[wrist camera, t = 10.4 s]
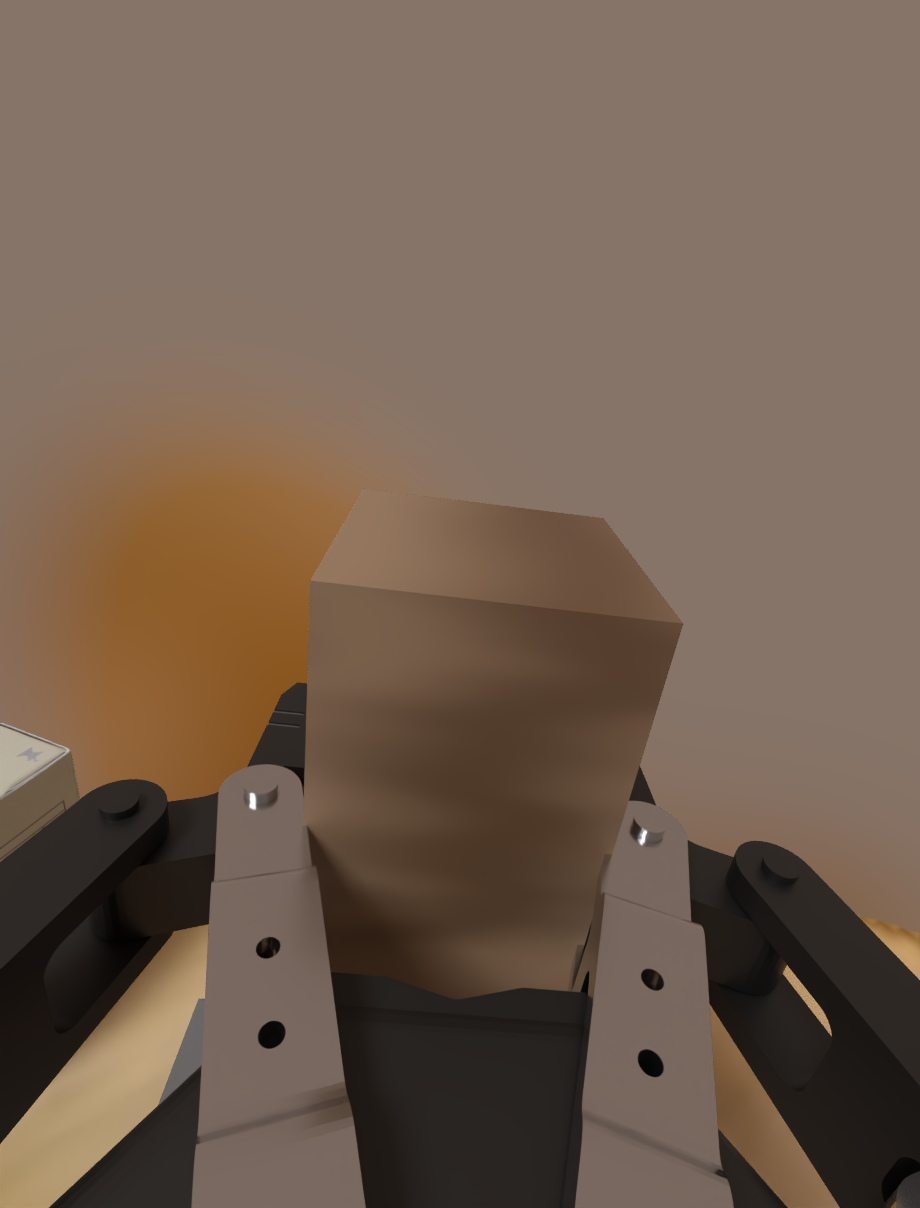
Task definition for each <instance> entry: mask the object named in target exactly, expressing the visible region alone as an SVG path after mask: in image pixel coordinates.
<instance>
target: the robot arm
mask: <svg viewBox="0 0 920 1208" xmlns="http://www.w3.org/2000/svg"><path fill="white" fill-rule="evenodd" d="M306 709H307V684H306V683H296V684H295V685H294V686H292V687H291V688H290V689H288V690H287V691H286V692H285V693H283V694H282V695H281V697H280V699H279V701H278V704H277V705H276V708H275V711H274V713H273V714H272V716H271V718H270V720H269V724H268V725H267V727H266V729H265V731H264V733H263V735H262V737H261V739H260V741H259V743H258V745H257V748H256V750H255V752H254V754H253V756H252V758H251V760H250V762H249V764H248V766H247V767H246V768H244V769H241V770H239V771H237V772H235V773H234V774H232V775H231V776H229V777H228V778H227V779H226V780H225V781H224V782H223V784H222V785H221V787H220V790H219V792H217V793H215V794H212V795H209V796H205V797H199V798H193V799H185V800H178V801H171V802H167V796H166V793H165V791H164V790H163V789H162V788H161V787H160V786H158V785H157V784H155V783H152V782H149V781H145V780H138V779H134V780H131V779H130V780H121V781H117V782H112V783H109V784H106V785H103V786H101V787H99V788H97V789H95V790H93V791H91V792H89V793H88V794H87V795H85V796H84V797H82V798H81V799H80V800H79V801H77V802H76V803H75V804H74V805H72V806H71V807H70V808H68V809H67V810H66V811H65V812H63V813H62V814H61V815H59V816H58V817H57V818H56V819H54V820H53V821H52V822H51V823H49V824H48V825H47V826H45V827H44V828H43V829H42V830H40V831H39V832H38V833H37V834H35V835H34V836H33V837H31V838H30V839H29V840H28V841H26V842H25V843H24V844H22V845H21V846H20V847H19V848H17V849H16V850H15V851H14V852H12V853H11V854H10V855H8V856H7V857H6V858H5V859H3V860H2V861H1V862H0V1144H1V1142H2V1141H3V1140H4V1139H5V1138H6V1136H7V1135H8V1134H9V1133H10V1131H11V1130H12V1129H13V1128H14V1127H15V1125H16V1124H17V1123H18V1122H19V1121H20V1119H21V1118H22V1117H23V1116H24V1114H25V1113H26V1112H27V1111H28V1110H29V1108H30V1107H31V1106H32V1105H33V1103H34V1102H35V1101H36V1100H37V1099H38V1097H39V1096H40V1095H41V1094H42V1093H43V1091H44V1090H45V1089H46V1088H47V1086H48V1085H49V1084H50V1083H51V1082H52V1080H53V1079H54V1078H55V1077H56V1075H57V1074H58V1073H59V1072H60V1071H61V1069H62V1068H63V1067H64V1066H65V1065H66V1063H67V1062H68V1061H69V1060H70V1058H71V1057H72V1056H73V1055H74V1054H75V1052H76V1051H77V1050H78V1049H79V1047H80V1046H81V1045H82V1044H83V1043H84V1041H85V1040H86V1039H87V1038H88V1037H89V1035H90V1034H91V1033H92V1032H93V1030H94V1029H95V1028H96V1027H97V1026H98V1024H99V1023H100V1022H101V1021H102V1019H103V1018H104V1017H105V1016H106V1015H107V1013H108V1012H109V1011H110V1010H111V1009H112V1007H113V1006H114V1005H115V1004H116V1002H117V1001H118V1000H119V999H120V998H121V996H122V995H123V994H124V993H125V991H126V990H127V989H128V988H129V987H130V985H131V984H132V983H133V982H134V981H135V979H136V978H137V977H138V976H139V974H140V973H141V972H142V971H143V970H144V968H145V967H146V966H147V965H148V963H149V962H150V961H151V960H152V959H153V957H154V956H155V955H156V954H157V953H158V951H159V950H160V949H161V948H162V946H163V945H164V944H165V943H166V942H167V940H168V939H169V938H170V936H171V935H172V933H173V931H177V930H182V929H187V928H192V927H197V926H202V925H206V924H209V933H208V952H207V971H206V990H205V1010H204V1029H203V1048H202V1065H201V1066H200V1067H199V1068H198V1069H197V1070H196V1071H195V1072H194V1073H193V1074H191V1075H190V1076H189V1077H188V1078H187V1079H186V1080H185V1081H184V1082H183V1083H182V1084H181V1085H180V1086H179V1087H178V1088H177V1089H175V1090H174V1091H173V1092H172V1093H171V1094H170V1095H169V1096H168V1097H167V1098H166V1099H165V1100H164V1101H163V1102H162V1103H160V1104H159V1105H158V1106H157V1107H156V1108H155V1109H154V1110H153V1111H152V1112H151V1113H150V1114H149V1115H148V1116H147V1117H146V1118H144V1119H143V1120H142V1121H141V1122H140V1123H139V1124H138V1125H137V1126H136V1127H135V1128H134V1129H133V1130H132V1131H131V1132H129V1133H128V1134H127V1135H126V1136H125V1137H124V1138H123V1139H122V1140H121V1141H120V1142H119V1143H118V1144H117V1145H116V1146H115V1147H113V1148H112V1149H111V1150H110V1151H109V1152H108V1153H107V1154H106V1155H105V1156H104V1157H103V1158H102V1159H101V1160H100V1161H98V1162H97V1163H96V1164H95V1165H94V1166H93V1167H92V1168H91V1169H90V1170H89V1171H88V1172H87V1173H86V1174H85V1175H83V1176H82V1177H81V1178H80V1179H79V1180H78V1181H77V1182H76V1183H75V1184H74V1185H73V1186H72V1187H71V1188H70V1189H68V1190H67V1191H66V1192H65V1193H64V1194H63V1195H62V1196H61V1197H60V1198H59V1199H58V1200H57V1201H56V1202H55V1203H53V1204H52V1205H51V1206H50V1207H49V1208H787V1207H786V1205H785V1204H784V1203H783V1202H782V1201H781V1200H780V1199H779V1197H778V1196H777V1195H776V1194H775V1193H774V1192H773V1191H772V1189H771V1188H770V1187H769V1186H768V1185H767V1184H766V1183H765V1182H764V1180H763V1179H762V1178H761V1177H760V1176H759V1175H758V1174H757V1172H756V1171H755V1170H754V1169H753V1168H752V1167H751V1166H750V1164H749V1163H748V1162H747V1161H746V1160H745V1159H744V1158H743V1156H742V1155H741V1154H740V1153H739V1152H738V1151H737V1150H736V1148H735V1147H734V1146H733V1145H732V1144H731V1143H730V1142H729V1140H728V1139H727V1138H726V1137H725V1136H724V1135H723V1134H722V1133H721V1131H720V1130H719V1129H718V1123H717V1109H716V1094H715V1079H714V1064H713V1049H712V1035H711V1020H710V1005H711V1007H712V1008H713V1010H714V1011H715V1013H716V1014H717V1016H718V1017H719V1019H720V1021H721V1022H722V1024H723V1025H724V1027H725V1028H726V1030H727V1032H728V1033H729V1035H730V1036H731V1038H732V1039H733V1041H734V1043H735V1044H736V1046H737V1047H738V1049H739V1050H740V1052H741V1053H742V1055H743V1057H744V1058H745V1060H746V1061H747V1063H748V1064H749V1066H750V1068H751V1069H752V1071H753V1072H754V1074H755V1075H756V1077H757V1079H758V1080H759V1082H760V1083H761V1085H762V1086H763V1088H764V1089H765V1091H766V1093H767V1094H768V1096H769V1097H770V1099H771V1100H772V1102H773V1104H774V1105H775V1107H776V1108H777V1110H778V1111H779V1113H780V1115H781V1116H782V1118H783V1119H784V1121H785V1122H786V1124H787V1125H788V1127H789V1129H790V1130H791V1132H792V1133H793V1135H794V1136H795V1138H796V1140H797V1141H798V1143H799V1144H800V1146H801V1147H802V1149H803V1150H804V1152H805V1154H806V1155H807V1157H808V1158H809V1160H810V1161H811V1163H812V1165H813V1166H814V1168H815V1169H816V1171H817V1172H818V1174H819V1176H820V1177H821V1179H822V1180H823V1182H824V1183H825V1185H826V1186H827V1188H828V1190H829V1191H830V1193H831V1194H832V1196H833V1197H834V1199H835V1201H836V1202H837V1204H838V1205H839V1207H840V1208H920V980H919V979H918V978H917V977H916V976H915V975H914V974H913V973H912V972H911V971H910V970H909V969H908V968H907V967H906V966H905V965H904V963H903V962H902V961H901V960H900V959H899V958H898V957H897V956H896V955H895V954H894V953H893V952H892V951H891V950H890V949H889V948H888V947H887V946H886V945H885V944H884V943H883V942H882V941H881V940H880V939H879V938H878V937H877V936H876V935H875V934H874V933H873V931H872V930H871V929H870V928H869V927H868V926H867V925H866V924H865V923H864V922H863V921H862V920H861V919H860V918H859V917H858V916H857V915H856V914H855V913H854V912H853V911H852V910H851V909H850V908H849V907H848V906H847V905H846V904H845V903H844V902H843V901H842V899H841V898H839V896H838V895H837V894H836V893H835V892H834V891H833V890H832V889H831V888H830V887H829V886H828V885H827V884H826V883H825V882H824V881H823V880H822V879H821V878H820V877H819V876H818V875H817V874H816V873H815V872H814V871H813V870H812V869H811V868H810V866H808V865H807V864H806V863H805V862H804V861H803V860H802V859H800V858H799V857H798V856H796V855H794V854H793V853H792V852H790V851H788V850H786V849H784V848H782V847H780V846H777V845H775V844H771V843H768V842H763V841H750V842H746V843H744V844H742V845H740V846H739V848H738V849H737V851H736V853H735V855H734V857H731V856H728V855H725V854H722V853H719V852H716V851H713V850H710V849H707V848H704V847H702V846H699V845H696V844H694V843H692V842H690V841H688V840H687V835H686V832H685V830H684V828H683V827H682V825H681V824H680V823H679V822H678V820H677V819H675V818H674V817H673V816H672V815H671V814H669V813H668V812H666V811H665V810H663V809H662V808H659V807H657V806H656V804H655V801H654V799H653V797H652V794H651V792H650V790H649V787H648V785H647V782H646V780H645V777H644V775H643V773H642V770H641V768H640V766H639V769H638V772H637V776H636V779H635V782H634V785H633V789H632V792H631V795H630V798H629V802H628V805H627V808H626V811H625V815H624V818H623V821H622V824H621V828H620V831H619V834H618V837H617V841H616V844H615V847H614V850H613V854H605V855H604V858H603V862H602V865H601V868H600V872H599V875H598V881H597V889H596V896H595V904H594V912H593V918H592V922H591V925H590V929H589V932H588V935H587V938H586V942H585V945H577V948H576V951H575V955H574V958H573V961H572V966H571V972H570V978H569V985H568V991H559V990H547V989H534V988H517V989H512V990H507V991H502V992H496V993H491V994H486V995H481V996H475V997H470V998H465V999H452V998H448V997H445V996H442V995H439V994H436V993H434V992H431V991H428V990H425V989H422V988H419V987H416V986H414V985H411V984H408V983H405V982H402V981H399V980H396V979H393V978H391V977H387V976H374V975H362V974H350V973H338V972H330V965H329V957H328V949H327V942H326V934H325V926H324V919H323V911H322V903H321V896H320V888H319V880H318V874H317V869H316V866H312V863H311V856H310V847H309V839H308V831H307V826H306V825H303V807H304V774H305V742H306ZM787 965H788V966H789V968H790V969H791V970H792V971H793V973H794V974H795V975H796V977H797V978H798V979H799V980H800V982H801V983H802V984H803V985H804V987H805V988H806V989H807V990H808V992H809V993H810V994H811V995H812V997H813V998H814V999H815V1001H816V1002H817V1003H818V1004H819V1006H820V1007H821V1008H822V1010H823V1011H824V1013H825V1015H826V1017H827V1019H828V1021H829V1024H830V1027H831V1032H832V1037H831V1035H830V1034H829V1033H828V1032H827V1030H826V1029H825V1028H824V1026H823V1025H822V1024H821V1023H820V1021H819V1020H818V1019H817V1017H816V1016H815V1015H814V1013H813V1012H812V1011H811V1010H810V1008H809V1007H808V1006H807V1004H806V1003H805V1002H804V1001H803V999H802V998H801V997H800V995H799V994H798V993H797V992H796V990H795V989H794V988H793V986H792V985H791V984H790V983H789V981H788V980H787V979H786V977H785V976H784V975H783V972H784V970H785V968H786V966H787ZM709 1003H710V1005H709Z"/></svg>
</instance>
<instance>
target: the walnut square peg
mask: <svg viewBox="0 0 920 1208" xmlns="http://www.w3.org/2000/svg"><path fill="white" fill-rule="evenodd" d="M309 613H310V614H309V643H308V677H307V709H306V742H305V774H304V807H303V825H306V826H307V831H308V839H309V847H310V856H311V863H312V866H316V869H317V874H318V880H319V888H320V896H321V903H322V911H323V919H324V926H325V934H326V942H327V949H328V957H329V965H330V972H338V973H350V974H362V975H374V976H387V977H391V978H393V979H396V980H399V981H402V982H405V983H408V984H411V985H414V986H416V987H419V988H422V989H425V990H428V991H431V992H434V993H436V994H439V995H442V996H445V997H448V998H452V999H465V998H470V997H475V996H481V995H486V994H491V993H496V992H502V991H507V990H512V989H517V988H534V989H547V990H559V991H568V985H569V978H570V972H571V966H572V961H573V958H574V955H575V951H576V948H577V945H585V942H586V938H587V935H588V932H589V929H590V925H591V922H592V918H593V912H594V904H595V896H596V889H597V881H598V875H599V872H600V868H601V865H602V862H603V858H604V855H605V854H613V850H614V847H615V844H616V841H617V837H618V834H619V831H620V828H621V824H622V821H623V818H624V815H625V811H626V808H627V805H628V802H629V798H630V795H631V792H632V789H633V785H634V782H635V779H636V776H637V772H638V769H639V766H640V763H641V759H642V756H643V753H644V749H645V746H646V743H647V740H648V737H649V733H650V730H651V727H652V724H653V720H654V717H655V714H656V710H657V707H658V704H659V701H660V697H661V694H662V691H663V688H664V684H665V681H666V678H667V674H668V671H669V668H670V665H671V662H672V658H673V655H674V652H675V648H676V645H677V641H678V639H679V636H680V632H681V629H682V626H683V623H682V622H681V620H680V619H679V618H678V616H677V615H676V614H675V612H674V611H673V610H672V608H671V607H670V606H669V604H668V603H667V602H666V600H665V599H664V598H663V597H662V595H661V594H660V593H659V591H658V590H657V588H656V587H655V586H654V585H653V583H652V582H651V581H650V579H649V578H648V577H647V575H646V574H645V573H644V571H643V570H642V569H641V567H640V566H639V565H638V563H637V562H636V561H635V559H634V558H633V557H632V555H631V554H630V553H629V552H628V550H627V549H626V548H625V547H624V545H623V544H622V542H621V541H620V540H619V538H618V537H617V536H616V534H615V533H614V532H613V530H612V529H611V528H610V526H609V525H608V524H607V522H606V521H605V520H604V519H603V518H596V517H588V516H580V515H572V514H564V513H555V512H547V511H540V510H532V509H524V508H516V507H508V506H499V505H491V504H483V503H476V502H468V501H460V500H451V499H443V498H435V497H427V496H419V495H411V494H403V493H395V492H387V491H379V490H371V489H363V491H362V493H361V494H360V496H359V498H358V500H357V501H356V503H355V505H354V506H353V508H352V510H351V512H350V513H349V515H348V517H347V518H346V520H345V522H344V524H343V526H342V527H341V529H340V530H339V532H338V534H337V536H336V537H335V539H334V541H333V542H332V544H331V546H330V548H329V550H328V551H327V553H326V555H325V556H324V558H323V560H322V561H321V563H320V565H319V567H318V568H317V570H316V572H315V574H314V575H313V577H312V579H311V580H310V610H309Z"/></svg>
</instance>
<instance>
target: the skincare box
mask: <svg viewBox="0 0 920 1208" xmlns="http://www.w3.org/2000/svg"><path fill="white" fill-rule="evenodd" d="M79 800H80V796H79V791H78V785H77V781H76V775H75V770H74V764H73V759H72V754H71V750H70V749H68V748H66V747H64V746H61V745H57V744H55V743H53V742H51V741H48V740H45V739H43V738H41V737H38V736H35V735H33V734H30V733H28V732H25V731H23V730H20V729H17V728H15V727H12V726H9V725H7V724H4V723H1V722H0V862H1V861H2V860H3V859H5V858H6V857H7V856H8V855H10V854H11V853H12V852H14V851H15V850H16V849H17V848H19V847H20V846H21V845H22V844H24V843H25V842H26V841H28V840H29V839H30V838H31V837H33V836H34V835H35V834H37V833H38V832H39V831H40V830H42V829H43V828H44V827H45V826H47V825H48V824H49V823H51V822H52V821H53V820H54V819H56V818H57V817H58V816H59V815H61V814H62V813H63V812H65V811H66V810H67V809H68V808H70V807H71V806H72V805H74V804H75V803H76V802H77V801H79Z"/></svg>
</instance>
